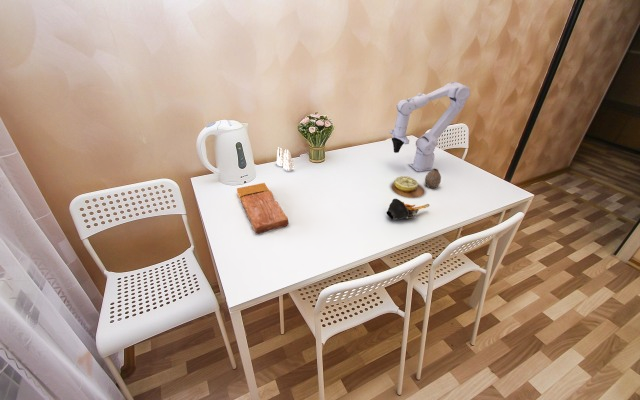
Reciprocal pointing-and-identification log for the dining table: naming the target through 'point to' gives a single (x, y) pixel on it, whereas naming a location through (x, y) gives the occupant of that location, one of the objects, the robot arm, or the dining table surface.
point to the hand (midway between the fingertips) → (396, 152)
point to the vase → (433, 178)
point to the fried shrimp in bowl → (402, 210)
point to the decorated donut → (405, 183)
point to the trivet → (411, 194)
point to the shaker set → (284, 159)
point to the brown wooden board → (261, 208)
